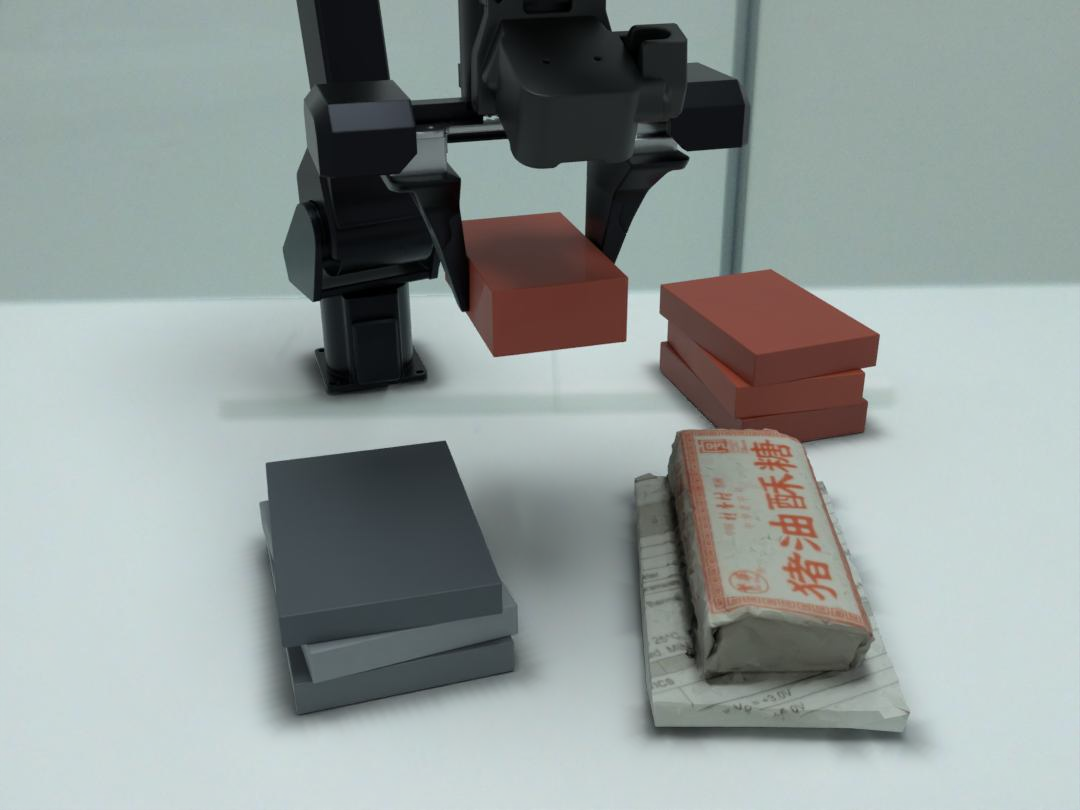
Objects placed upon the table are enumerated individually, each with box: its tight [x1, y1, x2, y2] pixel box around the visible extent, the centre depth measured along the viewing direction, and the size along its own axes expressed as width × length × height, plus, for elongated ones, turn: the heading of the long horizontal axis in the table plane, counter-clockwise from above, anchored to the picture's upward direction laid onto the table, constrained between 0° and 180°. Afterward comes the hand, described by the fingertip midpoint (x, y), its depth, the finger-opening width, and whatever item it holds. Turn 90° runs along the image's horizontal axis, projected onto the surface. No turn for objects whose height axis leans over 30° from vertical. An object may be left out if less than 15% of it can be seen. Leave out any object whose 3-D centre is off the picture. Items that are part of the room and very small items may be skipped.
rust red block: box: [444, 211, 629, 358], centre depth 53 cm, size 10×6×3 cm, turn 16°
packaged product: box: [633, 428, 911, 733], centre depth 51 cm, size 18×5×10 cm
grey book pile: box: [258, 440, 519, 716], centre depth 52 cm, size 13×10×4 cm
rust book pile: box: [658, 268, 881, 443], centre depth 70 cm, size 13×9×6 cm
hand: (529, 302), depth 54 cm, fingers closed on rust red block, 6 cm apart
